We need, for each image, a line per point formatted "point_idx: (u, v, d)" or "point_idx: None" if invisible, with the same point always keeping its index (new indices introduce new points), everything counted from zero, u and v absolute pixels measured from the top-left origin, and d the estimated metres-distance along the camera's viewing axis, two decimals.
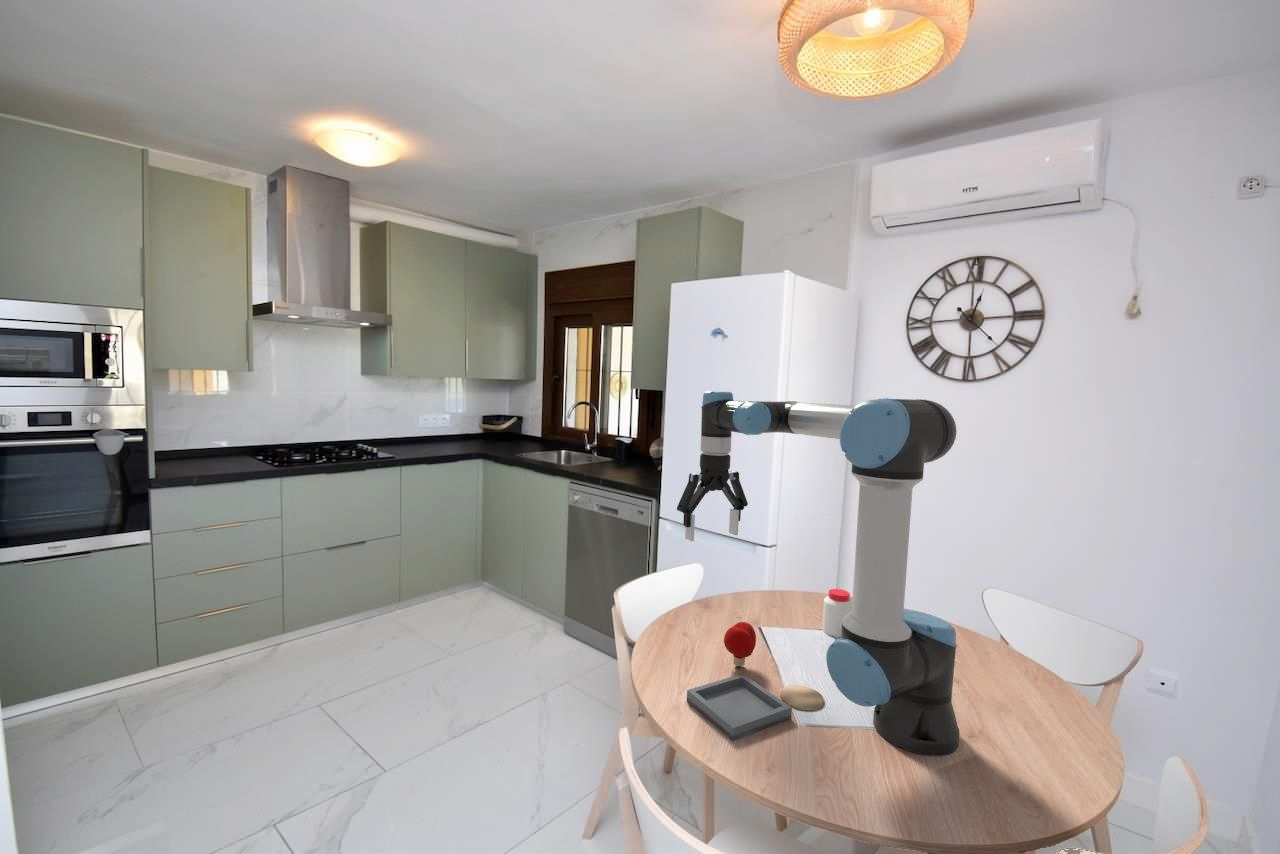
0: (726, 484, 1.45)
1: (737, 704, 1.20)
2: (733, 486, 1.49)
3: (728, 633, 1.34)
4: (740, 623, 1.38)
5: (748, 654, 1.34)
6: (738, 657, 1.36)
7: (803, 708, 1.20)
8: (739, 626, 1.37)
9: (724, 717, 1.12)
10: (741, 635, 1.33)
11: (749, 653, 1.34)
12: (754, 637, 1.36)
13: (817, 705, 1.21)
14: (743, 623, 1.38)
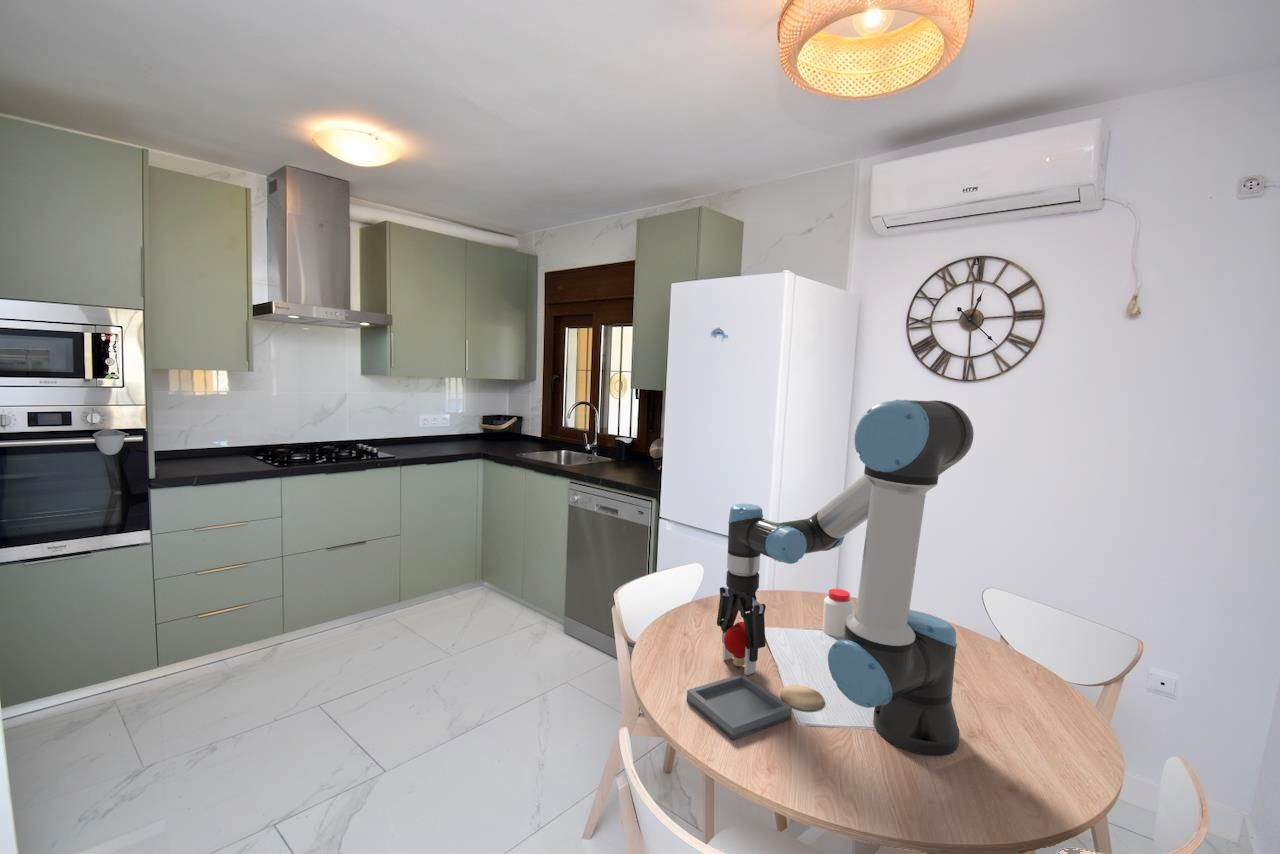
0: (741, 609, 1.33)
1: (737, 704, 1.20)
2: None
3: (728, 633, 1.34)
4: (740, 623, 1.38)
5: None
6: (738, 657, 1.36)
7: (803, 708, 1.20)
8: (739, 626, 1.37)
9: (724, 717, 1.12)
10: (740, 634, 1.33)
11: None
12: None
13: (817, 705, 1.21)
14: (743, 623, 1.38)
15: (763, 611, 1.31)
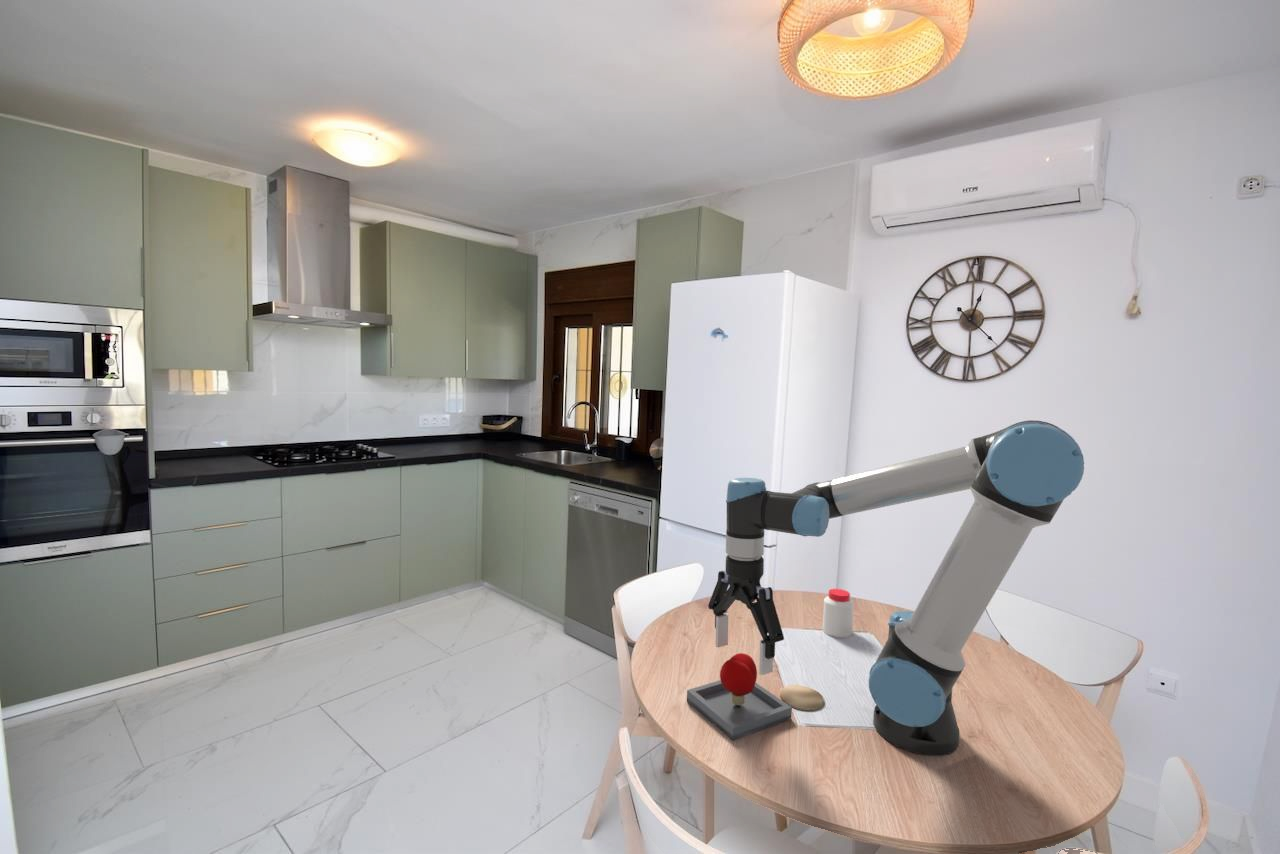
0: (745, 598, 1.14)
1: None
2: None
3: (724, 668, 1.16)
4: (738, 655, 1.20)
5: (748, 691, 1.16)
6: (737, 695, 1.18)
7: (803, 708, 1.20)
8: (737, 659, 1.19)
9: (724, 717, 1.12)
10: (739, 669, 1.15)
11: (749, 690, 1.16)
12: (754, 671, 1.18)
13: (817, 705, 1.21)
14: (742, 655, 1.20)
15: (771, 595, 1.11)
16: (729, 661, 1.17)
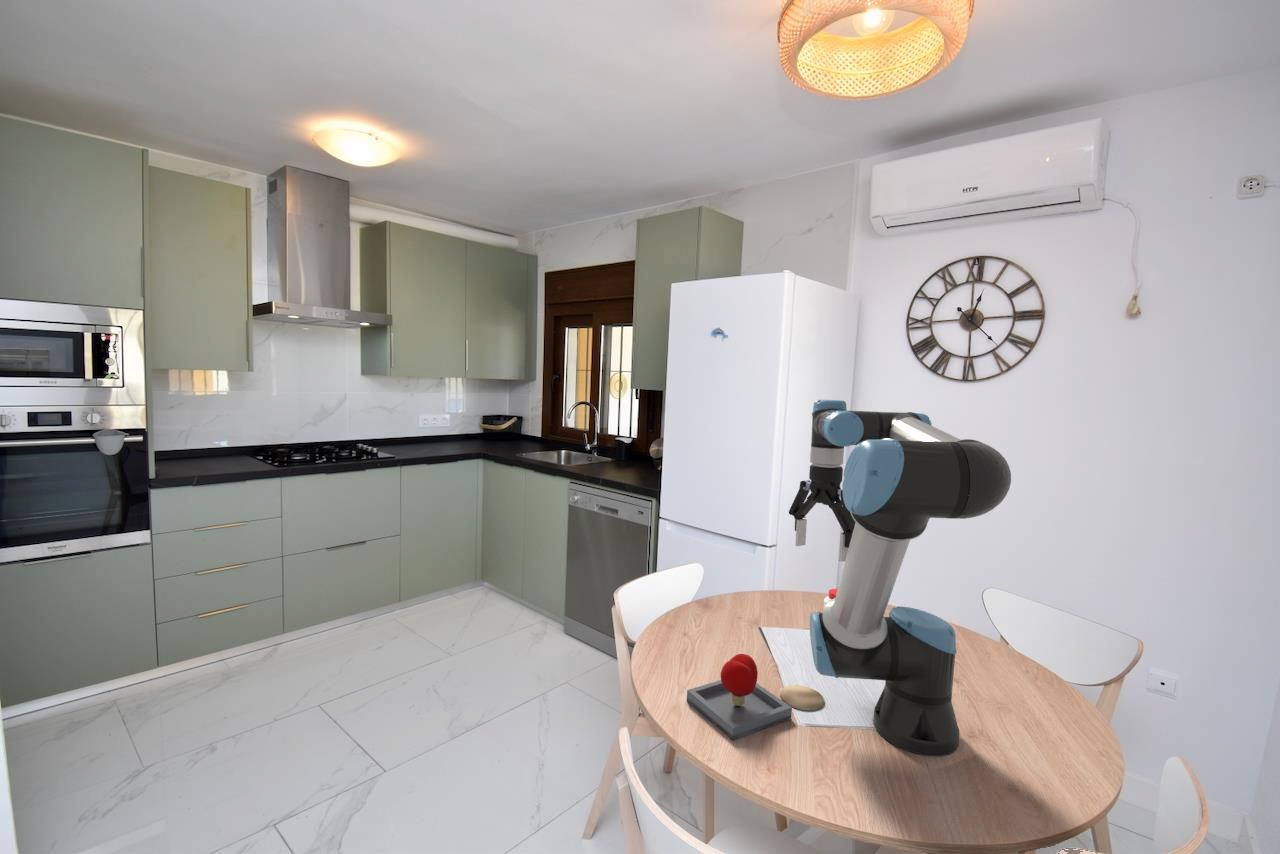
0: (828, 499, 1.35)
1: None
2: None
3: (725, 668, 1.16)
4: (739, 655, 1.20)
5: (749, 692, 1.16)
6: (737, 695, 1.18)
7: (803, 708, 1.20)
8: (738, 659, 1.19)
9: (724, 717, 1.12)
10: (740, 670, 1.15)
11: (750, 691, 1.16)
12: (755, 672, 1.17)
13: (817, 705, 1.21)
14: (743, 656, 1.20)
15: None
16: (730, 662, 1.17)
